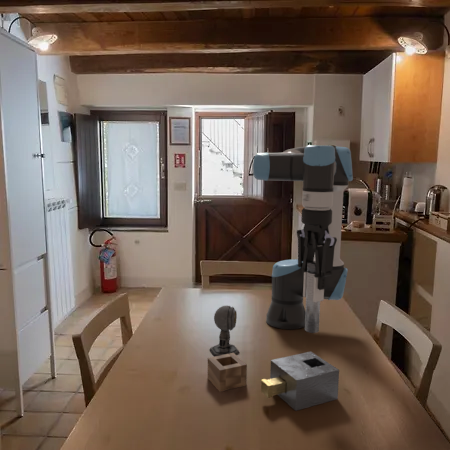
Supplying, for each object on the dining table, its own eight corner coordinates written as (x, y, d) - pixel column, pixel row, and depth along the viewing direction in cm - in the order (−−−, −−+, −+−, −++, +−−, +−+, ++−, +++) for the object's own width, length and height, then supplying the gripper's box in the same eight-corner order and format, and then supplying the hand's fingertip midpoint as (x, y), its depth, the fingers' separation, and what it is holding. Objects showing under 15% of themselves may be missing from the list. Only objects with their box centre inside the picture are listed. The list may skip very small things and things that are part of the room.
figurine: (237, 359, 140) (238, 312, 138) (206, 355, 142) (206, 309, 140) (242, 347, 148) (242, 303, 146) (212, 344, 150) (212, 300, 148)
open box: (233, 372, 131) (233, 352, 130) (246, 385, 124) (246, 364, 123) (207, 378, 128) (207, 357, 127) (219, 391, 121) (219, 370, 120)
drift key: (261, 391, 116) (261, 379, 116) (291, 384, 120) (291, 372, 120) (268, 398, 113) (268, 386, 113) (298, 390, 117) (299, 378, 117)
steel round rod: (313, 326, 122) (316, 260, 119) (321, 331, 118) (325, 263, 115) (301, 328, 120) (304, 261, 117) (310, 333, 117) (313, 265, 114)
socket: (269, 388, 123) (270, 360, 122) (309, 378, 128) (310, 351, 127) (295, 410, 112) (296, 380, 111) (337, 399, 118) (339, 369, 117)
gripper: (285, 205, 120) (282, 291, 123) (326, 213, 105) (321, 310, 109) (309, 203, 123) (305, 288, 127) (351, 211, 108) (346, 306, 112)
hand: (313, 298), depth 118 cm, fingers closed on steel round rod, 3 cm apart
